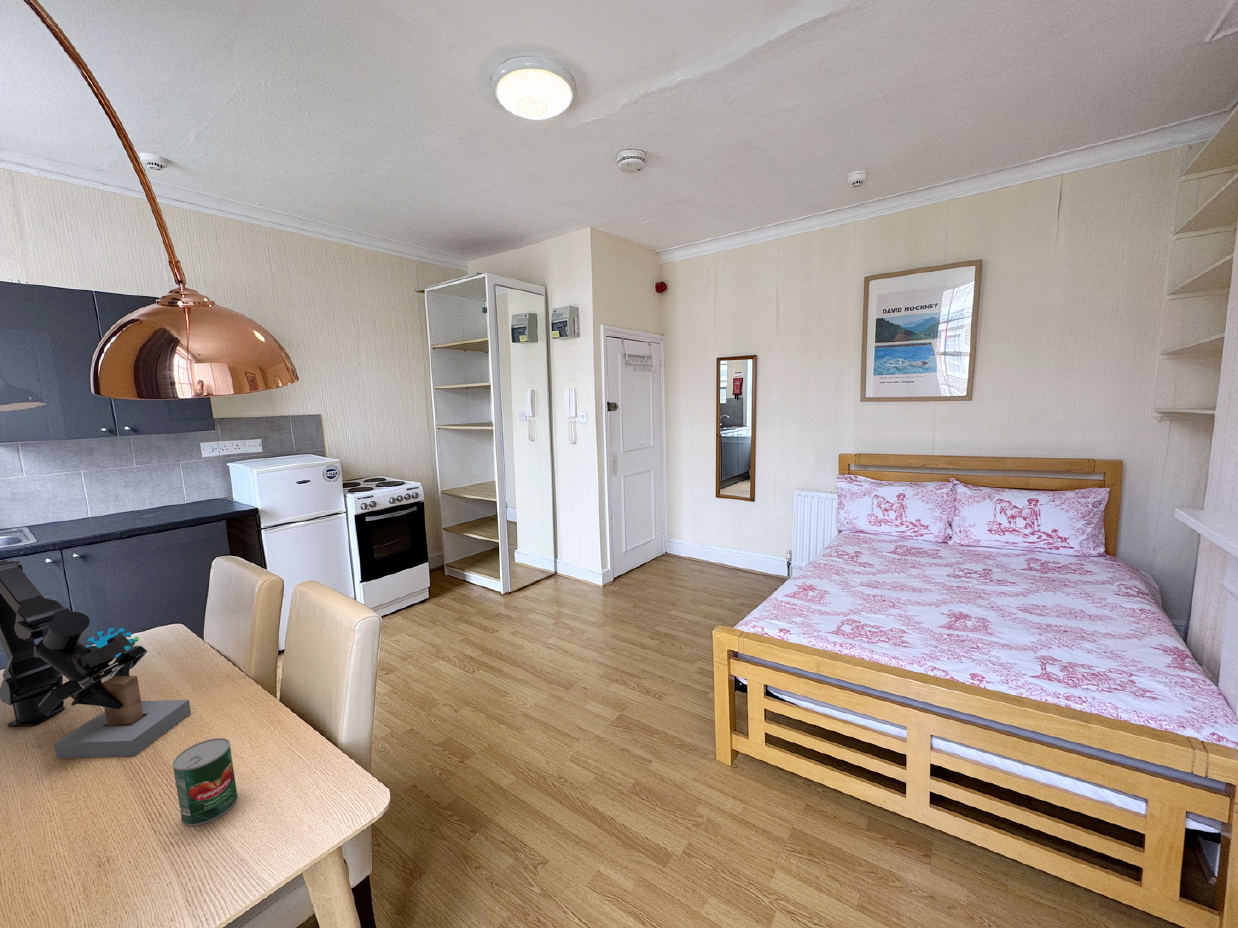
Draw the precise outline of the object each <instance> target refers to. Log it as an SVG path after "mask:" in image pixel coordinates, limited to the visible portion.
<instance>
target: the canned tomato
mask: <svg viewBox="0 0 1238 928" xmlns="http://www.w3.org/2000/svg"><path fill="white" fill-rule="evenodd" d="M231 749H232V748H231V742H230V740H229V739H227V738H225V737H217V738H215V737H214V738H210V739H207V740H203V741H200V742H197V743H195V744H193V745H191V746H188V748H187V747H186V748H185V749H184V750H183V751H181V752H180V753H179V754H178V755H176V757H175V758H174V759H173V761H172V765H171V766H172V768H173V774H174V775H173V776H174V780H175V789H176V792H177V799H178V805H179V808H180V809H179V810H180V811H179V812H180V816H181V822H182V824H183V825H184V826H188V827H199V826H202V825H205V824H208V823H210V822H212V821H215V820H216V819H218V818H220V817H222V816H223V815H225V814H226V813H227V812H229V811H230V810H231V809H232V808H233V807H234V806H235V804H236V803H237V801H238V797H239V795H238V791H237V790H238V789H237V783H236V776H235V769H234V763H233V756H232V750H231Z"/></svg>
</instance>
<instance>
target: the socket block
mask: <svg viewBox="0 0 1238 928" xmlns="http://www.w3.org/2000/svg"><path fill="white" fill-rule="evenodd" d="M141 704H142V710H143V716H144V717H143V718H142V719H140V720H139V721H137V722H136V723H135V724H133V725H132V726H108V725H107V720H106V714H105V711H103V712H102V713H100V714H98V715H97V716H95V717H93V718H91V720H89V721H87V722H85V723H83V724H82V725H81V726H79V727H77V728H75V729H74V730H72V731H71V732H69V733H67V734H66V735H64V736H62V737H61V738H60V739H58V740H56V741H55V742H53V746H54V751H55V756H56V759H79V758H80V759H81V758H82V759H83V758H85V759H86V758H87V759H88V758H112V757H113V758H115V757H116V758H117V757H118V758H119V757H120V758H121V757H123V758H124V757H135V756H137V754H139V753H140V752H142V751H144V750H145V749H146V748H148V747H149V745H151V744H152V743H154V742H155V741H157V740H158V739H159V738H160V737H162V736H163V735H164V734H166V733H167V732H168V731H169V730H171V729H172V728H174V727H175V726H176V725H178V724H179V723H181V721H183V720H184V719H185V718H187V717H188V716H190V715H191V714H192V712H191V705H190V699H171V700H169V699H167V700H166V699H165V700H164V699H163V700H141Z"/></svg>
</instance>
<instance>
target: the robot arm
mask: <svg viewBox="0 0 1238 928" xmlns="http://www.w3.org/2000/svg"><path fill="white" fill-rule="evenodd" d="M90 622H91V621H90V617H89V616H88V615H86V614H85V613H83V612H79V611H73V610H72V609H69V607H66V608H65V606H64V605H63V604H61V602H59V601H58V600H54V599H50V598H46V597H44V595H43V594H42V593H41V592H40V591H39V589H38V588H37V587H36V586H35V584H33V582H32V581H31V579H29V577H28V576H27V575H26V574H25V572H24V568H23V566H22V563H21V561H20V560H16V561H15V560H11V561H10V560H7V559H2V560H0V644H1V646H2V648H3V651H4V653H5V656H6V658H7V664H6V665H5V667H4V670H3V672H2V678H3V680H2V681H1V683H0V684H1V685H0V701H1V702H2V703H4V704H6V705H8V706H12V709H13V713H14V718H15V719H14V720H12V721H11V722H9V723H7V727H32V726H37V725H39V724H41V723H43V722H44V721H46V720H48V719H49V718H51V717H53V716H54V715H56V714H58V713H60V712H62V711H63V710H65V709H66V707H65V706H64V705H65V704H64V703H65V700H67V699H68V698H71V699H72V700H73V701H72V702H71V703H70V705H71V706H72V707H74V706H75V705H85V706H97V707H109V708H116V709H120V708H121V707H122V706H123V704H122V703H121V702H120V701H119V700H118V699H117V698H116V697H115V696H113V695H112V694H111V693H110V692H108V691H107V690H106V689H105V688H104V687H103V685H102V683H103V681H102V680H103V679H105V680H106V681H107V680H108V679H110V678H112V677H114V676H131V675H130V670H131V669H133V668H134V667H135V666H136V665H137V664H138V663H139V661H141V659H142V658H143V657H145V655H146V654H148V649H146V648H144V647H143V646H142V645H134V647H132V648H130V649H129V650H127V651H126V649H125V648H124V647H125V646H127V645H129V641H128V637H125V636H123V635H124V634H122V633H119V634H118V635H116V636H114V637H112V638H110V639H108V640H107V643H108V644H107V645H105V646H103V647H101V648H98V647H97V646H95V645H93V644H92V645H90V647H88V648H87V647H86V645H85V644H84V643H82V642H81V641H82V639H83V638H84V636H85V634H86V633H87V630H88V628H89V626H90V624H91V623H90ZM40 638H42V639H41V640H40V641H39V642H38V643H37V644H36V642H35V640H37V639H40ZM119 653H121V654H120V655H119V657H118V658H115V657H116V655H117V654H119ZM111 662H112V663H111ZM110 663H111V664H110ZM63 677H65V678H66V679H67V680H68V681H65V682H64V681H63V679H64V678H63ZM63 682H64V683H63Z"/></svg>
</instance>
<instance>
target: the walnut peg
mask: <svg viewBox="0 0 1238 928" xmlns="http://www.w3.org/2000/svg"><path fill="white" fill-rule="evenodd" d="M102 685H103V687H104V688H105V689H106V690H107V691H108V692H110V693H111V694H112V695H113V696H115V697H116V698H117V699H118V700H119V701H120V702H121V703H122V704H123V706H122V707H121V708H120V709H116V708H109V707H104V712H105V714H106V720H107V725H108V726H132V725H133V724H135V723H136V722H137V721H139V720H140V719H142V718H143V717H144V716H143V710H142V704H141V701H142V698H141V692H140V687H139V680H138V675H130V676H114V677H112V678H110V679H108V680H107V679H106V680H105V681H102Z"/></svg>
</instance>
